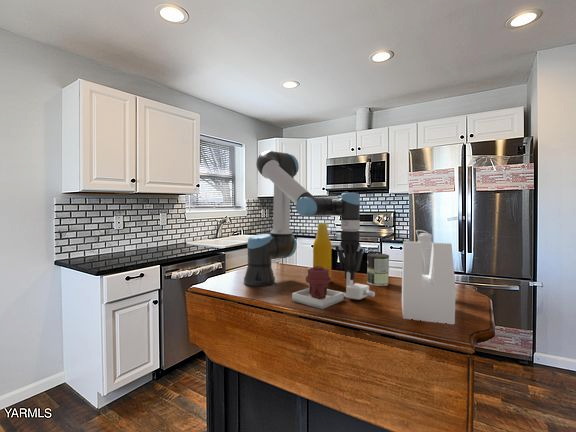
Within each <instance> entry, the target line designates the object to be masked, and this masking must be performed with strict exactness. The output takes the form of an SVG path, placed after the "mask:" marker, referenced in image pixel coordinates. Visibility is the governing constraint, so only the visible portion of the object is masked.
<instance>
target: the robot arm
mask: <svg viewBox="0 0 576 432" xmlns="http://www.w3.org/2000/svg"><path fill="white" fill-rule="evenodd" d="M299 167H300V166H299V161H298V159H297V158H296V157H295V155H293V154H290V153H286V152H279V151H273V150H266V151H263V152H261V153H260V155H258V157H257V158H256V168H257V171H258V173H260V175H261V176H262V177H264V178H265V179H268V180H270V181H271V182H272V184H273V211H272V213H273V216H272V217H273V218H272V229H271V231H270V232H269V233H259V234H255V235H251V236H249V238H248V239H247V244H246V245H247V269H246V271H245V275H244V277H243V284H244V285H246V286H251V287H267V286H272V285H274V284H275V283H276V278H275V277H276V276H274V270H273V267H272V260H276V259H277V260H279V259H286V258H290V257H292V256H293V255H294V254H295V252H296V251H297V248H298V247H297V245H298V243H297V240H296V238H295V236H294V235H293V232H292V230H291V228H290V227H291V226H290V225H291V224H290V223H291V220H290V219H291V201H292V203H294V204H295V209H296V210H297V213H298V214H299V215H300V216H303V217H318V216H319V217H321V216H322V217H323V216H324V217H328V216H333V217H334V216H337V217H338V216H340V230H341V231H340V240H341V241H340V243H339V245H337V246H335V250H336V252H337V256H338V261H339V268H340V270H343V271H344V279H345V280H346V284H345V288H346V287H347V286H349V285H352V284H354V280H355V277H356V276H355V273H356V272H359V271H360V268H361V264H362V259H363V256H364V253H365V252H366V248H364V247H363V246H361V244H360V234H361V233H360V231H359V230H360V226H361V225H360V224H361V223H360V212H361V211H360V210H361V209H360V208H361V200H360V199H361V198H360V194H359V193H358V192H342V193H341V195H340V197H337V198H336V197H335V198H334V197H330V198H329V197H316V196H314V195H312V194H311V193H310V192H309V191H308V190H307V189H306V188H305V187H303V186H302V185H301V184H300V183H299V182H298V181H297V180H295V176H297V173H298V172H299Z"/></svg>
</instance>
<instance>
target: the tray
mask: <svg viewBox="0 0 576 432" xmlns="http://www.w3.org/2000/svg"><path fill="white" fill-rule="evenodd" d="M338 291H339V290H333V289H328V288H327V295H326V297H325V298H321V299H316V298H314V297H311V295H310V294H309V287H308V288H304V289H300V290H298V291H295V292H292V293H291V300H292V302H295V303H298V304H299V303H300V304H303V305H306V306H309V307H313V308H317V309H321V310H323V309H325V308H328V307H330V306H333V305H335V304H338V303H340V302H343V301H344V298H345V297H344V293H345V292H344V293H343V291H340V292H338Z"/></svg>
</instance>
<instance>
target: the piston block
mask: <svg viewBox="0 0 576 432" xmlns="http://www.w3.org/2000/svg"><path fill="white" fill-rule="evenodd" d="M345 293H346V297H350V298H355V299H358V300H362V299H364V298H366V297H373V298H374V297H375V296H376V292H375V291H372V290H370V284H369V285H367V284H363V283H358V282H355V283H353V284H352V285H349V286H347V287H346V286H345ZM350 298H349V299H350Z"/></svg>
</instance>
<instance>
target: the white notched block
mask: <svg viewBox="0 0 576 432" xmlns="http://www.w3.org/2000/svg"><path fill="white" fill-rule="evenodd" d="M453 256H454V255H453V245H452V242H433V241H432V251H431V260H430V270H429V275H422V253H421V242H418V241H409V240H408V241H406V240H405V241H403V246H402V269H401V270H402V271H401V310H402V319H404V320H411V319H413V320H414V321H420V320H421V322H428V323H430V322H431V323H437V322H438V324H439V323H440V324H445V323H447V324H448V325H454V324H455V323H456V291H457V290H456V288H457V287H456V281H455V280H456V277H455V268H454V257H453ZM413 320H412V321H413ZM447 324H446V325H447ZM455 325H456V324H455Z"/></svg>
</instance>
